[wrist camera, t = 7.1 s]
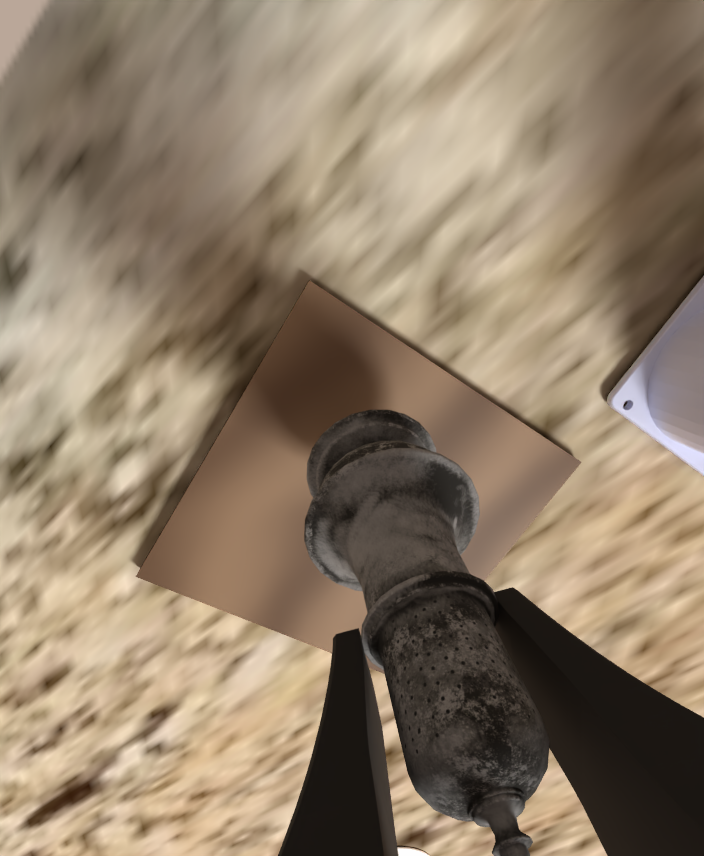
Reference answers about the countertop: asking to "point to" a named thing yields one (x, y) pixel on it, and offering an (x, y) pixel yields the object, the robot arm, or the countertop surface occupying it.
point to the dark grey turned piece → (427, 617)
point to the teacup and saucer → (410, 852)
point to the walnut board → (287, 472)
